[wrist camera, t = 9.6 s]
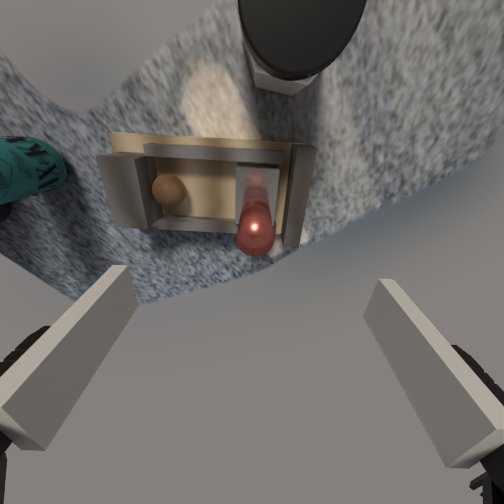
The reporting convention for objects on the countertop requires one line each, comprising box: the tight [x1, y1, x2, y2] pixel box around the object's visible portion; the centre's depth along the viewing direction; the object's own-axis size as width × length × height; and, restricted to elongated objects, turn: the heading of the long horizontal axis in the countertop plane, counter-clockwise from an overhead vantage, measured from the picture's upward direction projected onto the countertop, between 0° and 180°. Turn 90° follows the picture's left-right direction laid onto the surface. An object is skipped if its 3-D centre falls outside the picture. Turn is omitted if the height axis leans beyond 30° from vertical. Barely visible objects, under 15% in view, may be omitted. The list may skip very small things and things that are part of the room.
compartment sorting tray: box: [96, 132, 316, 248], centre depth 28 cm, size 24×12×7 cm, turn 87°
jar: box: [235, 0, 367, 96], centre depth 19 cm, size 9×8×12 cm
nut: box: [152, 174, 186, 207], centre depth 28 cm, size 4×4×4 cm
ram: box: [235, 163, 280, 256], centre depth 24 cm, size 5×7×14 cm
